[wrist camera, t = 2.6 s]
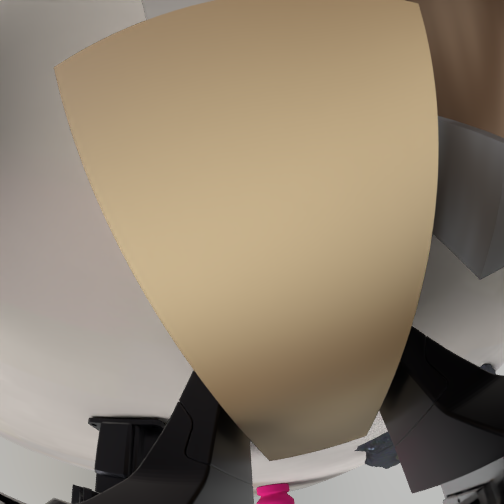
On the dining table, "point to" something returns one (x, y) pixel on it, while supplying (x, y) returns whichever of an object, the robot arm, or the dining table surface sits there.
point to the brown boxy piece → (469, 127)
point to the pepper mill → (274, 494)
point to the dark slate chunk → (389, 445)
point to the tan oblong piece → (270, 196)
